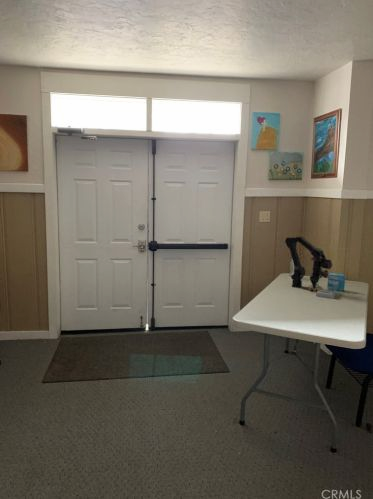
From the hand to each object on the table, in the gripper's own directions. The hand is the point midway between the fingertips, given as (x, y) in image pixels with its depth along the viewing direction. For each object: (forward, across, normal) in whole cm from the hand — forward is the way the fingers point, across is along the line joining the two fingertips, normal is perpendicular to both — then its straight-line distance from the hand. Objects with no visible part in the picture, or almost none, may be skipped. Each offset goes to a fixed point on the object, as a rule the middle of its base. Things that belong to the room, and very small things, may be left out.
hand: (315, 287), depth 296 cm
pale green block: (0, 0, 0) cm, 0 cm away
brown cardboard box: (+3, 0, 0) cm, 3 cm away
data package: (+3, +13, -13) cm, 19 cm away
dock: (+3, -9, -9) cm, 13 cm away
